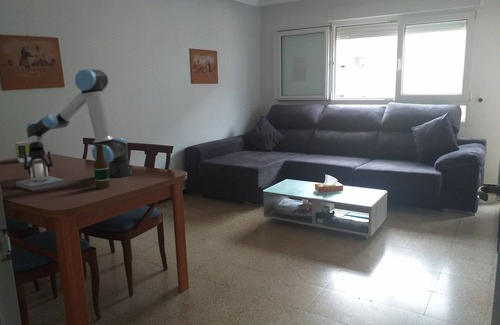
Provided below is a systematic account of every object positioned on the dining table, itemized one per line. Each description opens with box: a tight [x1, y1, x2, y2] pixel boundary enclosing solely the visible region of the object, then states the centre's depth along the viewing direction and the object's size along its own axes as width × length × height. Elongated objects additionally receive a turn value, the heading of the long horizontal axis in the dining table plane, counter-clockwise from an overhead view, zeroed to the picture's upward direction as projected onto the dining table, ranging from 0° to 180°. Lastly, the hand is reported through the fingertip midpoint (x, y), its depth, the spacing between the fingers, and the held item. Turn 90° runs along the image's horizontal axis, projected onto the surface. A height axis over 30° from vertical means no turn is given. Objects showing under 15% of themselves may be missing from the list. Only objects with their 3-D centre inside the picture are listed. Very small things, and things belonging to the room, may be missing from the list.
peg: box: [33, 162, 45, 183], centre depth 218 cm, size 4×4×12 cm
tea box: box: [15, 140, 42, 163], centre depth 291 cm, size 15×10×15 cm, turn 130°
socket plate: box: [15, 175, 66, 191], centre depth 219 cm, size 18×18×2 cm
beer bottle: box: [93, 144, 111, 190], centre depth 211 cm, size 8×8×24 cm
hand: (40, 177), depth 215 cm, fingers open, 7 cm apart
